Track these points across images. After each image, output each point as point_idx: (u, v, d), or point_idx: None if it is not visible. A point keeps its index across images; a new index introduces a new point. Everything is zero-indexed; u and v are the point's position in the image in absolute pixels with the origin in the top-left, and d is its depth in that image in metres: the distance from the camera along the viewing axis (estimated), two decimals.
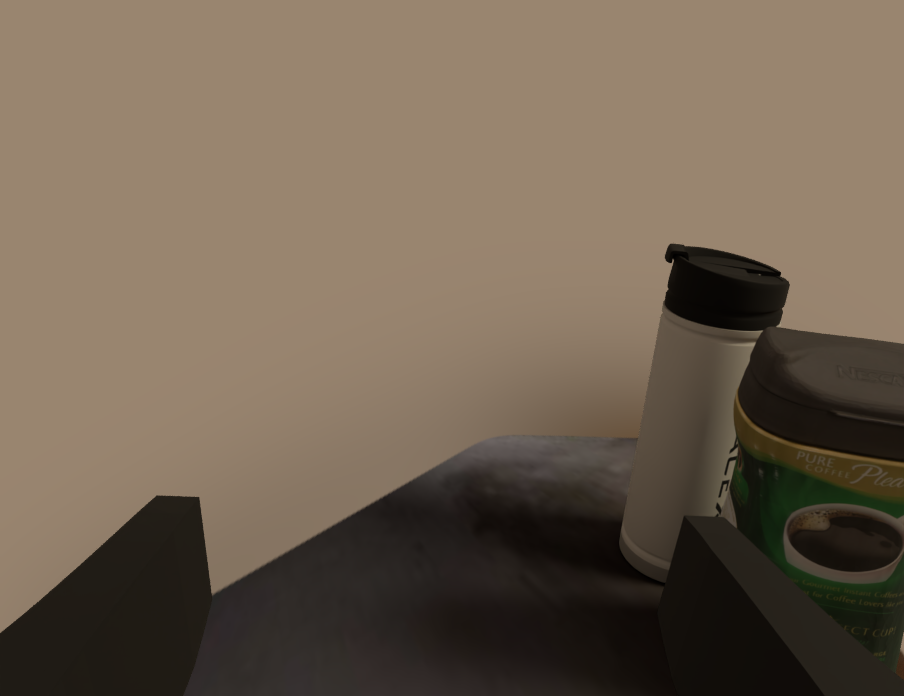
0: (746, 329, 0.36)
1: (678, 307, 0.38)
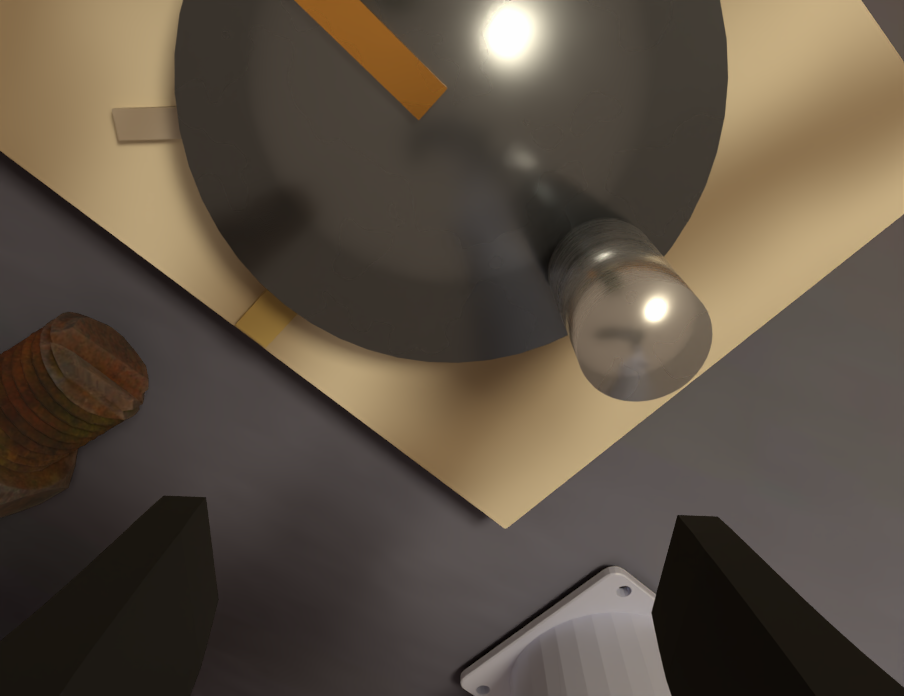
0: None
1: None
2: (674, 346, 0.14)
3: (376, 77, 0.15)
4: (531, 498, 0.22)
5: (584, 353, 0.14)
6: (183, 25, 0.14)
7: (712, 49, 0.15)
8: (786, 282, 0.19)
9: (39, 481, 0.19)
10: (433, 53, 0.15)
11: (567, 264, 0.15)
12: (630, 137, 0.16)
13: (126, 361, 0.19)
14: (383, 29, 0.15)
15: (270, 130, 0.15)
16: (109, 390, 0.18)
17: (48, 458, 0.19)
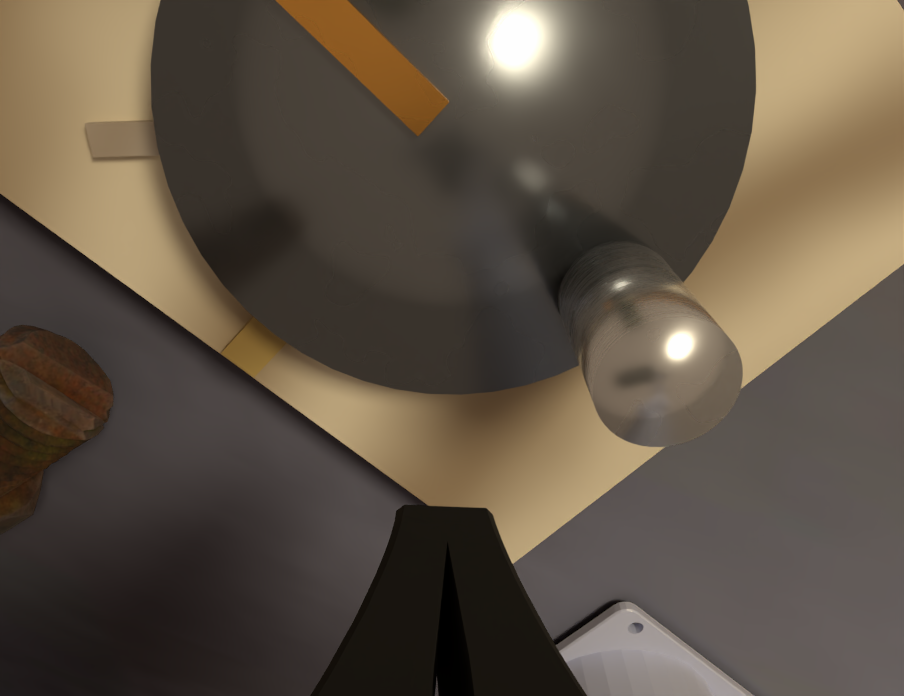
0: None
1: None
2: (700, 388, 0.12)
3: (371, 89, 0.14)
4: (538, 533, 0.20)
5: (600, 395, 0.12)
6: (160, 33, 0.13)
7: (739, 59, 0.14)
8: (813, 307, 0.17)
9: None
10: (434, 63, 0.13)
11: (580, 294, 0.14)
12: (648, 155, 0.14)
13: (87, 376, 0.18)
14: (378, 36, 0.13)
15: (256, 147, 0.14)
16: (66, 409, 0.17)
17: (5, 484, 0.17)
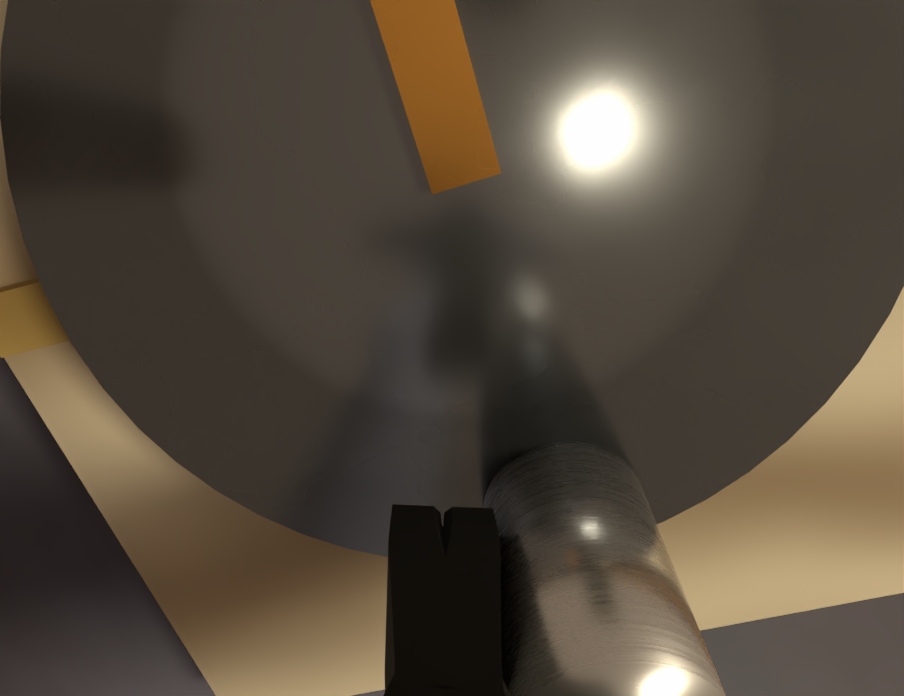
0: None
1: None
2: None
3: (403, 94, 0.08)
4: None
5: None
6: None
7: (865, 318, 0.10)
8: (727, 604, 0.14)
9: None
10: (508, 109, 0.09)
11: (538, 513, 0.10)
12: (699, 370, 0.10)
13: None
14: (455, 26, 0.08)
15: (180, 73, 0.08)
16: None
17: None
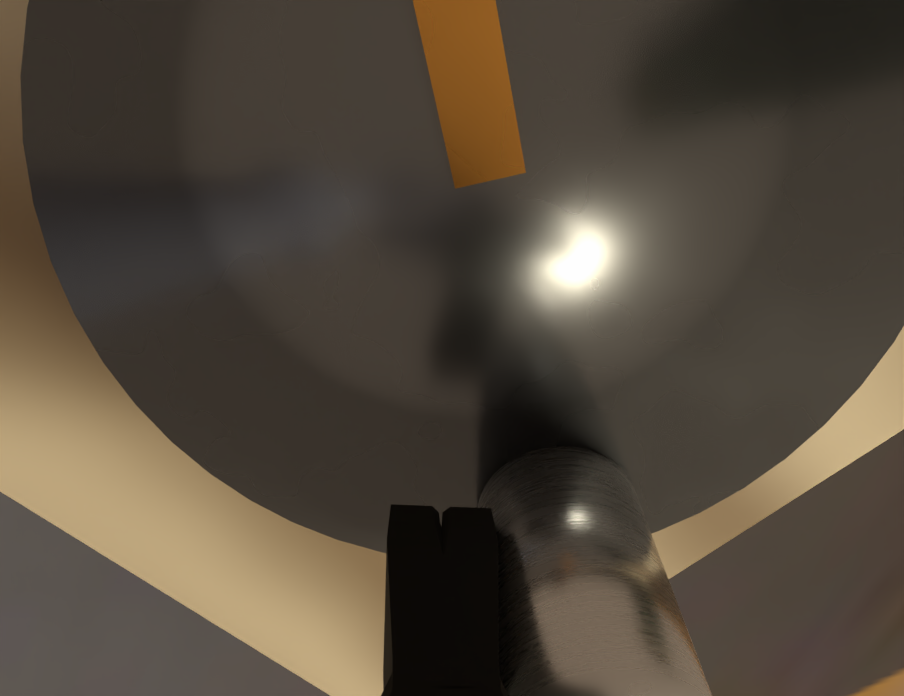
0: None
1: None
2: None
3: (434, 85, 0.08)
4: None
5: None
6: None
7: (870, 343, 0.10)
8: (253, 622, 0.14)
9: None
10: (538, 109, 0.09)
11: (536, 515, 0.10)
12: (705, 383, 0.10)
13: None
14: (491, 20, 0.08)
15: (210, 47, 0.08)
16: None
17: None
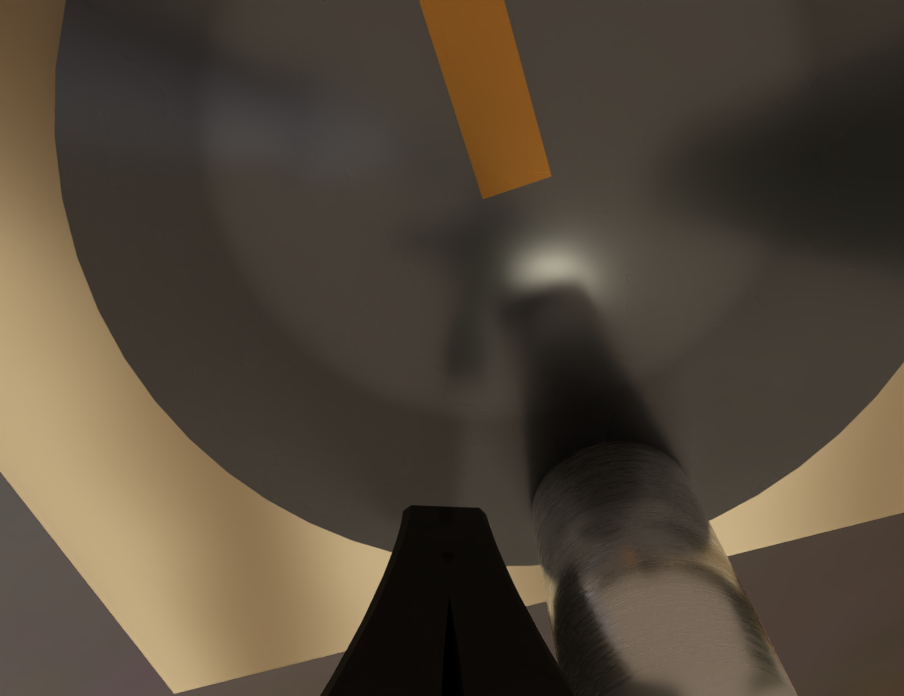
0: None
1: None
2: None
3: (453, 100, 0.08)
4: None
5: None
6: None
7: None
8: (70, 516, 0.13)
9: None
10: (558, 112, 0.09)
11: (593, 514, 0.10)
12: (748, 367, 0.10)
13: None
14: (504, 31, 0.08)
15: (232, 87, 0.08)
16: None
17: None
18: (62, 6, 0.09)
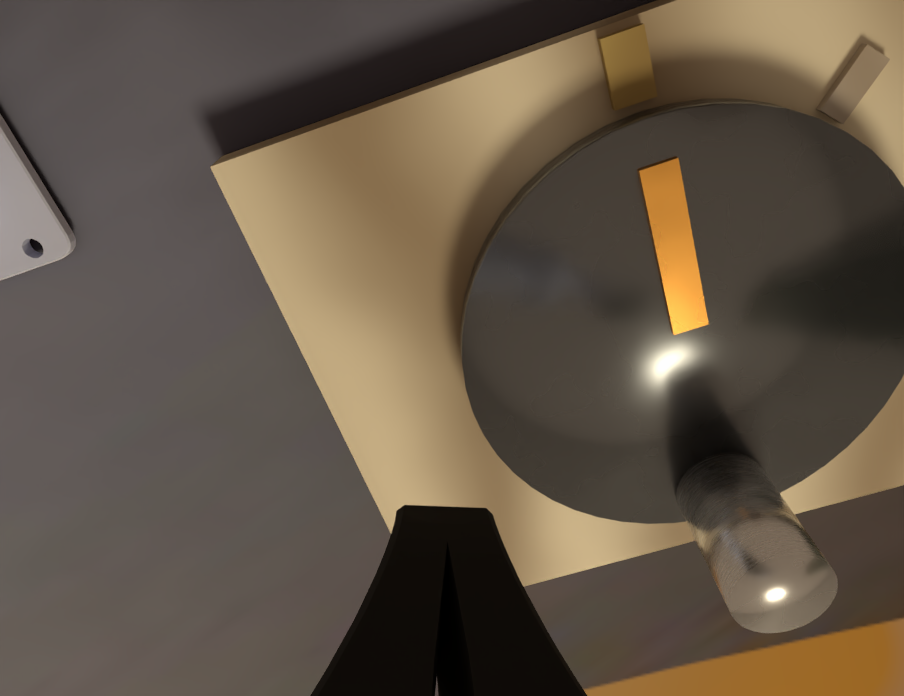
0: None
1: None
2: (800, 604, 0.17)
3: (664, 291, 0.17)
4: (247, 217, 0.17)
5: (741, 586, 0.17)
6: (550, 182, 0.16)
7: (887, 383, 0.19)
8: (394, 499, 0.22)
9: None
10: (713, 294, 0.18)
11: (723, 491, 0.19)
12: (800, 412, 0.19)
13: None
14: (691, 260, 0.17)
15: (557, 285, 0.17)
16: None
17: None
18: (460, 238, 0.18)
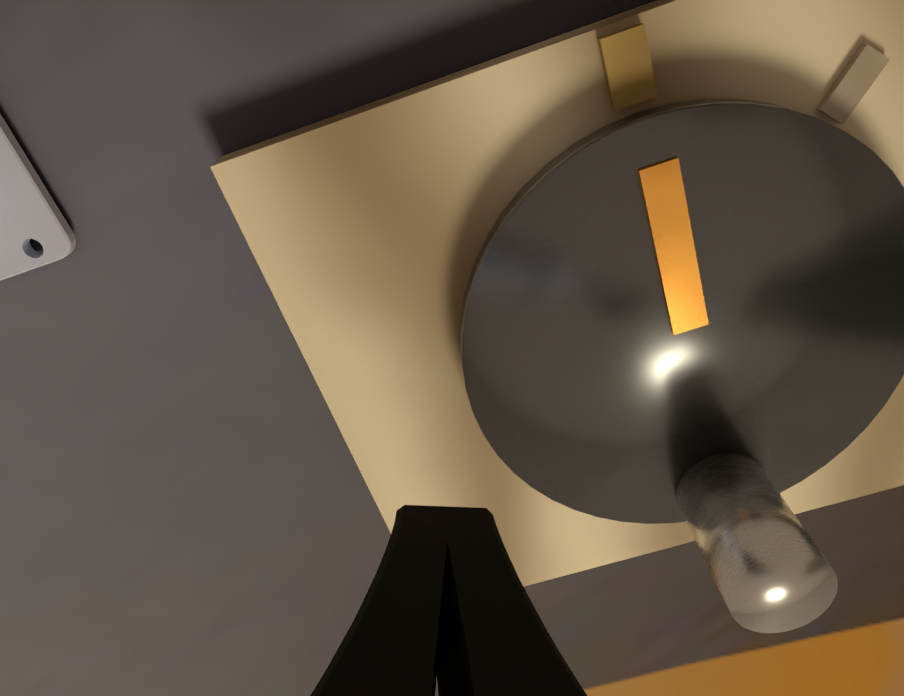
0: None
1: None
2: (800, 604, 0.17)
3: (664, 291, 0.17)
4: (247, 217, 0.17)
5: (741, 586, 0.17)
6: (550, 182, 0.16)
7: (887, 383, 0.19)
8: (394, 499, 0.22)
9: None
10: (713, 294, 0.18)
11: (723, 491, 0.19)
12: (800, 412, 0.19)
13: None
14: (691, 260, 0.17)
15: (557, 285, 0.17)
16: None
17: None
18: (460, 238, 0.18)
